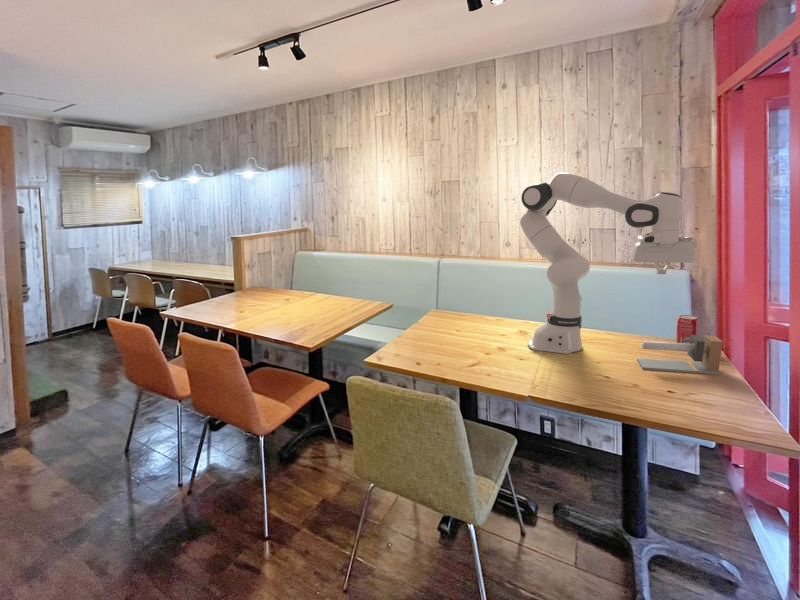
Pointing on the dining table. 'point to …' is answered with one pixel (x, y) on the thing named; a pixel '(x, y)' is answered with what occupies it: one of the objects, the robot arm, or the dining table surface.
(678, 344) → the pipe stand
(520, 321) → the dining table surface
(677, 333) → the soda can
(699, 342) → the grey rectangular frame
